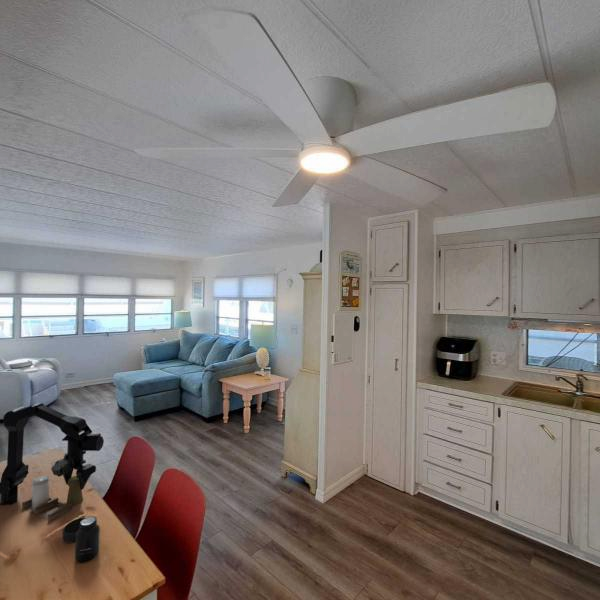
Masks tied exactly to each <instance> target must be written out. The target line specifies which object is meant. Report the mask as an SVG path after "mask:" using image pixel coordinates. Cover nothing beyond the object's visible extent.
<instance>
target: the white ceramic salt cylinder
mask: <svg viewBox="0 0 600 600" xmlns="http://www.w3.org/2000/svg"><path fill="white" fill-rule="evenodd" d="M49 496H50V478H49V476H48V475H42V476H39V477H36V478H34V480H32V483H31V498H32V510H35V508H36V507H38V506H40V505H42V504H44V503H46V502H48V501H49Z"/></svg>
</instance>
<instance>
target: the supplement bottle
mask: <svg viewBox="0 0 600 600" xmlns="http://www.w3.org/2000/svg"><path fill="white" fill-rule="evenodd" d="M83 518H84V519H83V520H82V521H81V522H80V529H79V530H78V531H77V533H76V542H75V549H74V550H75V553H74V557H75V558H74V559H75V562H77V563H78V564H85V563H89V562H91V561H93V560H94V559H95V558H96V557H97V556H98V554H99V551H100V531H101V530H100V529H101V528H100V525H99V524H98V521H97V518H98V517H96V516H93V515H92V516H91V515H90V516H87V517H83Z"/></svg>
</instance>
